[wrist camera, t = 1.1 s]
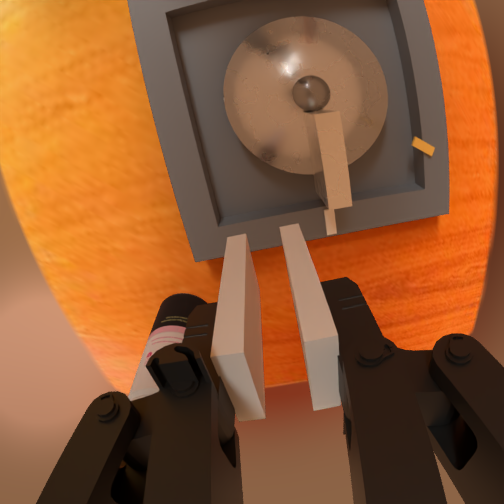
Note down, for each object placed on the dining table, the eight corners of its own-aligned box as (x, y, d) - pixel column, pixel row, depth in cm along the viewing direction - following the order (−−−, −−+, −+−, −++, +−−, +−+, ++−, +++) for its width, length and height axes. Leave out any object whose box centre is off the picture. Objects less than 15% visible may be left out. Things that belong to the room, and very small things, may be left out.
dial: (210, 36, 23) (197, 17, 17) (363, 17, 22) (394, -2, 15) (247, 198, 30) (246, 226, 23) (389, 173, 28) (423, 194, 22)
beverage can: (211, 338, 39) (197, 442, 25) (159, 329, 38) (128, 428, 25) (218, 296, 36) (203, 404, 22) (161, 286, 35) (121, 387, 22)
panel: (138, 5, 22) (125, -4, 19) (397, -28, 20) (412, -38, 17) (200, 247, 33) (195, 263, 30) (434, 203, 31) (450, 214, 28)
